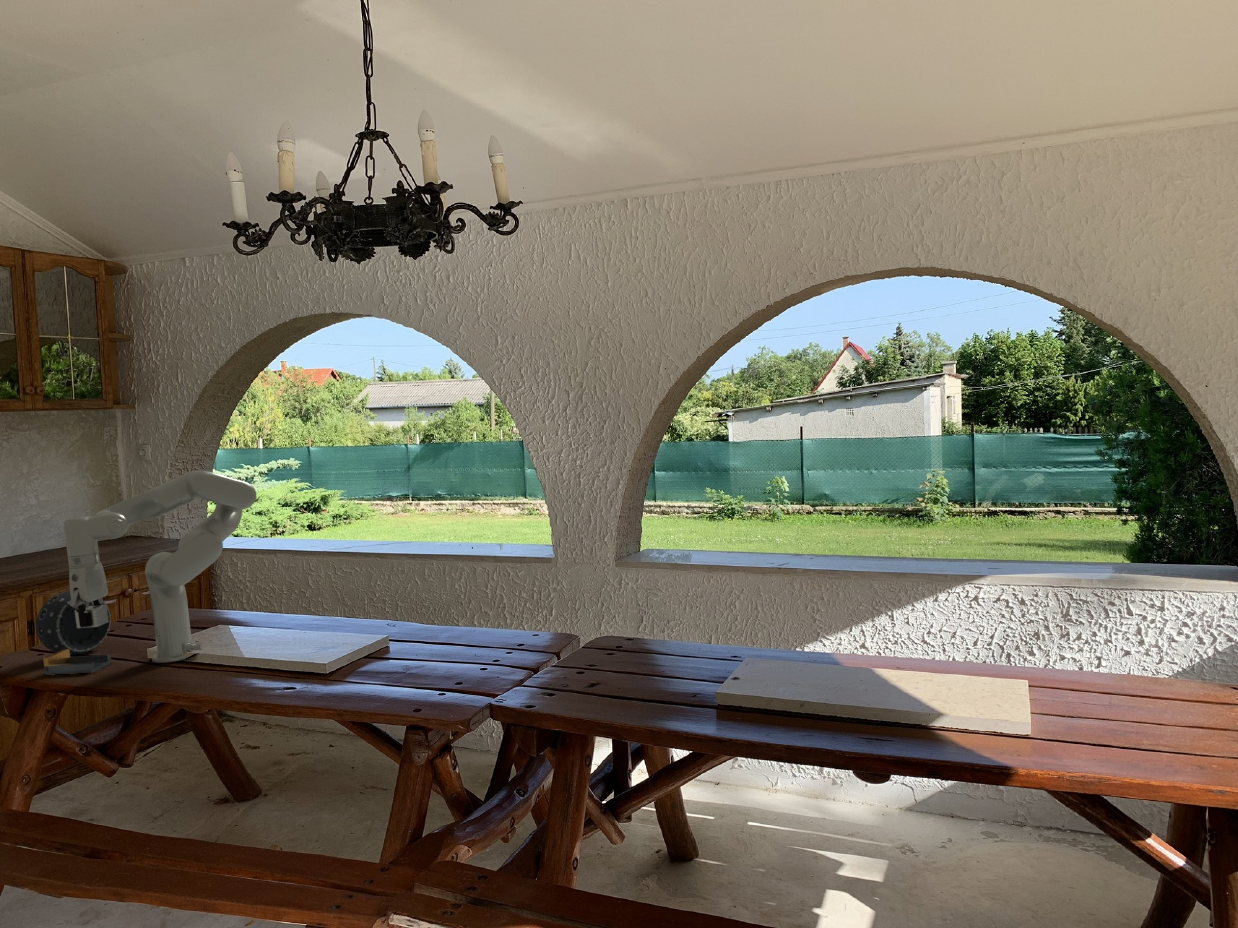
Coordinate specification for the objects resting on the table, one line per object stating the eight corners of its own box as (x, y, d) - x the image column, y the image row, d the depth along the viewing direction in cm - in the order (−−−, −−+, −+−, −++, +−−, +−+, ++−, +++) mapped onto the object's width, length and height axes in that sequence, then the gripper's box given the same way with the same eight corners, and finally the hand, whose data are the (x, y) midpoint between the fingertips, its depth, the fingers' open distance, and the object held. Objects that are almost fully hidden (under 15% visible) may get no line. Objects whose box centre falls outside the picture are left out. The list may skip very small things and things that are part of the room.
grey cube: (108, 621, 255) (106, 604, 255) (97, 626, 250) (95, 609, 250) (86, 623, 256) (84, 606, 255) (74, 628, 251) (72, 610, 250)
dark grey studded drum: (119, 645, 288) (111, 584, 286) (57, 664, 270) (49, 599, 268) (97, 643, 293) (89, 583, 291) (35, 662, 275) (26, 598, 273)
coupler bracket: (111, 663, 266) (109, 646, 266) (91, 673, 257) (89, 655, 257) (66, 665, 268) (64, 648, 267) (45, 675, 259) (43, 658, 258)
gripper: (77, 565, 243) (86, 631, 244) (115, 553, 260) (123, 615, 261) (50, 567, 243) (59, 633, 245) (90, 555, 260) (98, 616, 262)
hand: (92, 623), depth 253 cm, fingers closed on grey cube, 5 cm apart
